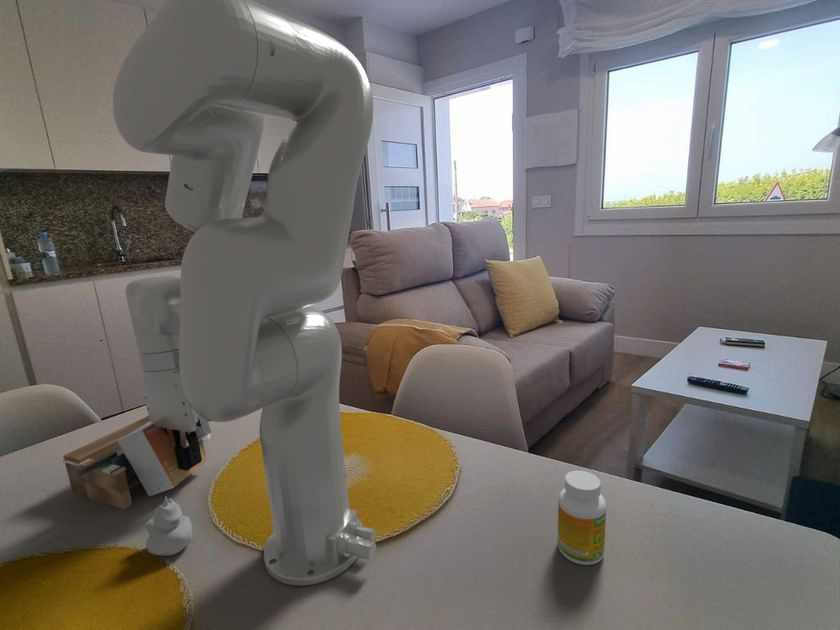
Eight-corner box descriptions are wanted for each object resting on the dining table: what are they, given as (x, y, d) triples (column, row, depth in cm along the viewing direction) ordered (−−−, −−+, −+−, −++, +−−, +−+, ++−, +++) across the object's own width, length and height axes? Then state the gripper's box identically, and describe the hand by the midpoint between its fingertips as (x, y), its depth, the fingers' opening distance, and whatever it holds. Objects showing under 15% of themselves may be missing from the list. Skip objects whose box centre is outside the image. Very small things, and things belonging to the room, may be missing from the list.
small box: (174, 489, 67) (140, 430, 66) (148, 497, 69) (115, 440, 67) (208, 460, 75) (179, 407, 73) (184, 469, 76) (155, 417, 75)
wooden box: (205, 457, 80) (199, 422, 78) (123, 510, 66) (113, 469, 64) (158, 447, 84) (151, 414, 83) (71, 495, 70) (61, 456, 69)
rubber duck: (173, 568, 54) (161, 512, 52) (134, 558, 56) (121, 504, 54) (206, 538, 59) (196, 486, 57) (169, 529, 61) (159, 479, 59)
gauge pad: (184, 454, 79) (178, 421, 78) (90, 511, 64) (80, 472, 63) (173, 452, 80) (167, 419, 79) (78, 507, 65) (68, 469, 64)
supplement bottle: (599, 573, 50) (602, 499, 48) (552, 556, 53) (553, 485, 50) (607, 543, 54) (610, 474, 52) (563, 528, 57) (565, 462, 55)
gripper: (224, 353, 67) (243, 460, 71) (158, 348, 72) (178, 447, 76) (182, 369, 60) (205, 486, 64) (112, 362, 66) (137, 470, 70)
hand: (190, 465), depth 70 cm, fingers closed
